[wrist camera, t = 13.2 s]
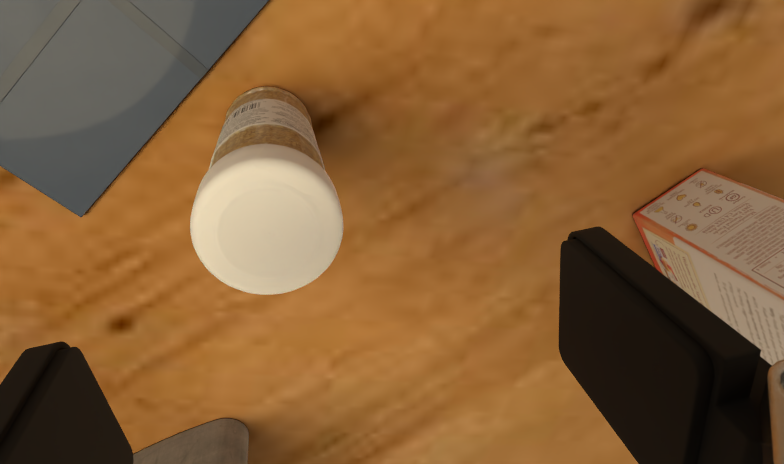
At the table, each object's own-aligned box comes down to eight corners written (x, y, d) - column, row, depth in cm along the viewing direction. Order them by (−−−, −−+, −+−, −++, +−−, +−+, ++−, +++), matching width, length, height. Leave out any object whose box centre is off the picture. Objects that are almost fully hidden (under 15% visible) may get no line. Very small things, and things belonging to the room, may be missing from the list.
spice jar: (249, 182, 28) (234, 322, 16) (207, 104, 26) (155, 199, 14) (326, 149, 28) (367, 264, 17) (291, 69, 26) (308, 135, 14)
